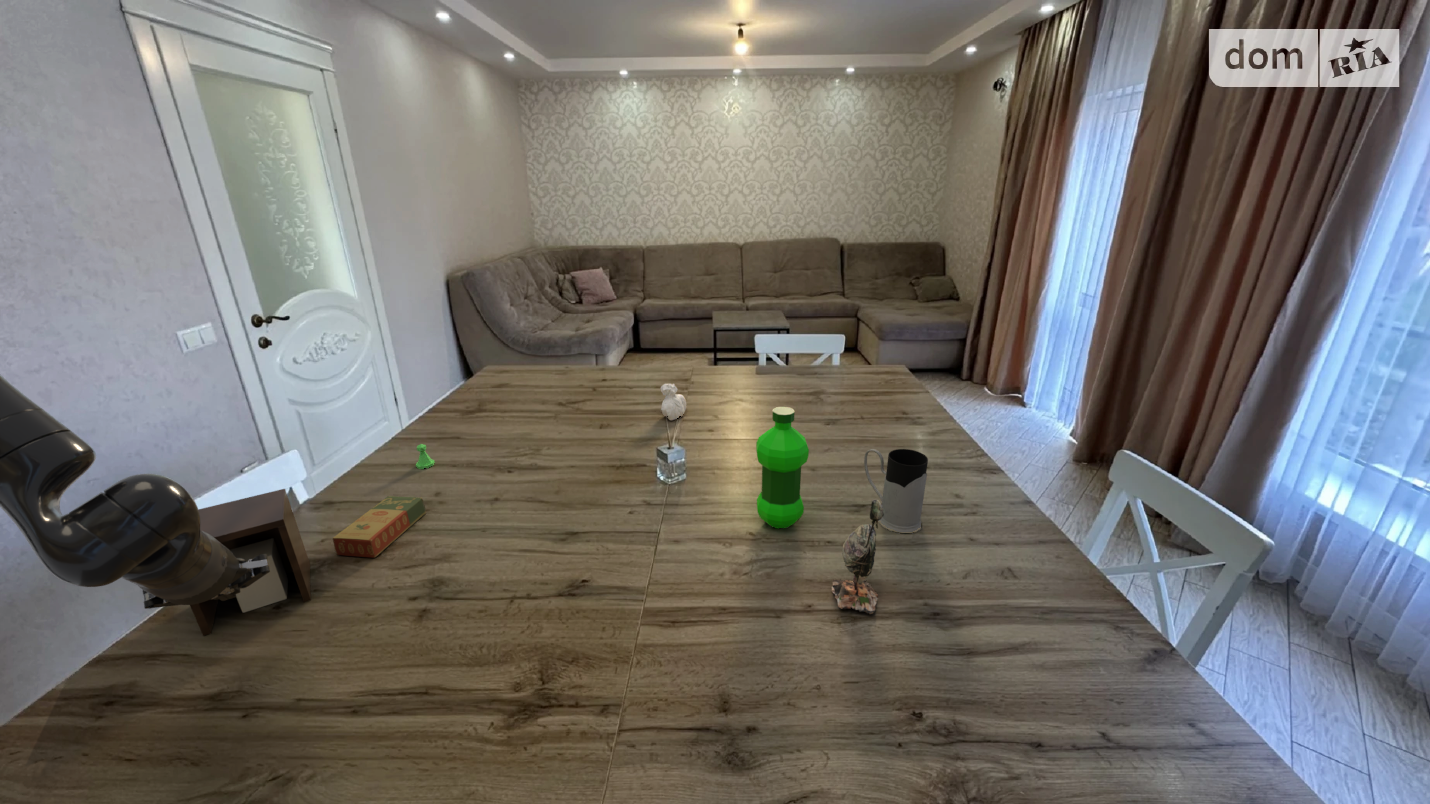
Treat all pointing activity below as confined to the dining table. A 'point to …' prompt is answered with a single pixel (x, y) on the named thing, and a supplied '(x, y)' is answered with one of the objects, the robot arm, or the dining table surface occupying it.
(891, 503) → the glass holder
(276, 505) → the walnut shelf
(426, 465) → the game piece
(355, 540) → the carton
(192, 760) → the dining table surface
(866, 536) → the bird figurine
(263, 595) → the cream box
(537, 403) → the dining table surface
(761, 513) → the plastic bottle
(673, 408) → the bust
